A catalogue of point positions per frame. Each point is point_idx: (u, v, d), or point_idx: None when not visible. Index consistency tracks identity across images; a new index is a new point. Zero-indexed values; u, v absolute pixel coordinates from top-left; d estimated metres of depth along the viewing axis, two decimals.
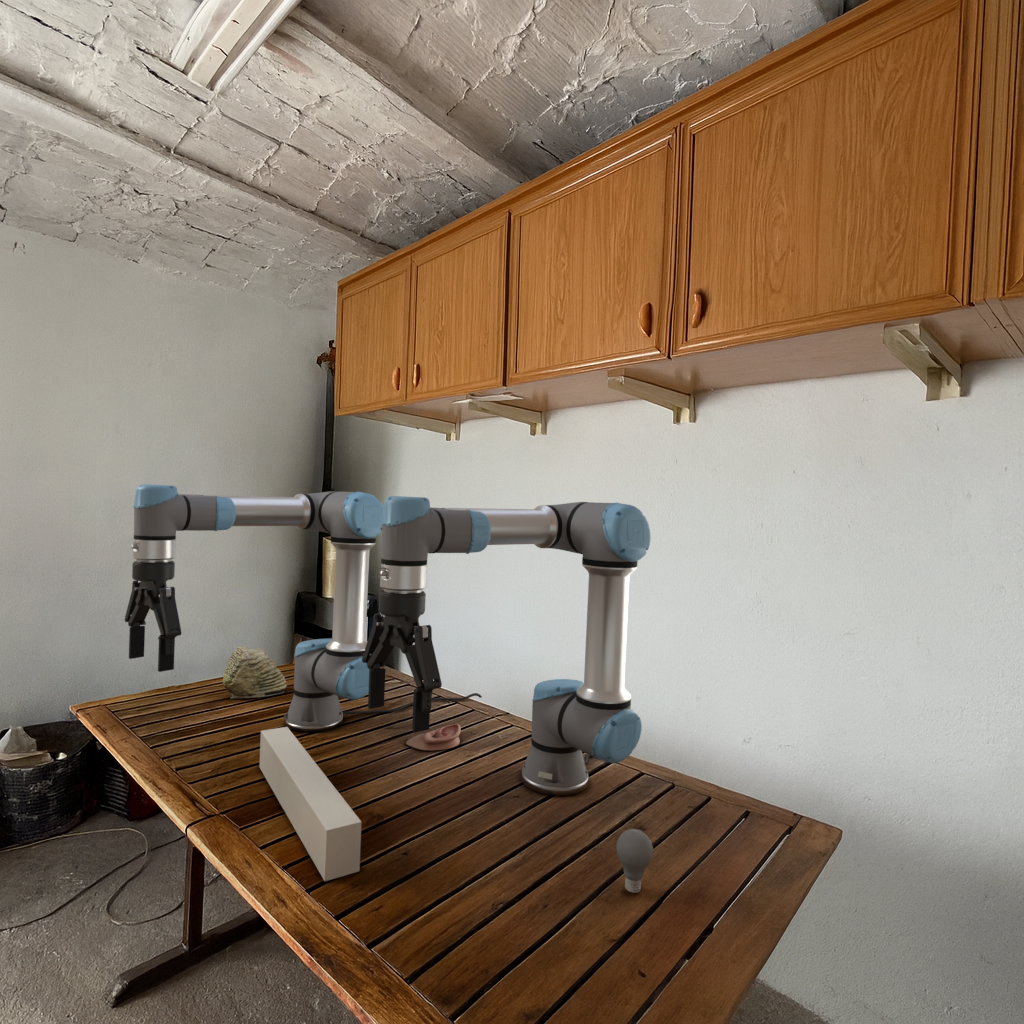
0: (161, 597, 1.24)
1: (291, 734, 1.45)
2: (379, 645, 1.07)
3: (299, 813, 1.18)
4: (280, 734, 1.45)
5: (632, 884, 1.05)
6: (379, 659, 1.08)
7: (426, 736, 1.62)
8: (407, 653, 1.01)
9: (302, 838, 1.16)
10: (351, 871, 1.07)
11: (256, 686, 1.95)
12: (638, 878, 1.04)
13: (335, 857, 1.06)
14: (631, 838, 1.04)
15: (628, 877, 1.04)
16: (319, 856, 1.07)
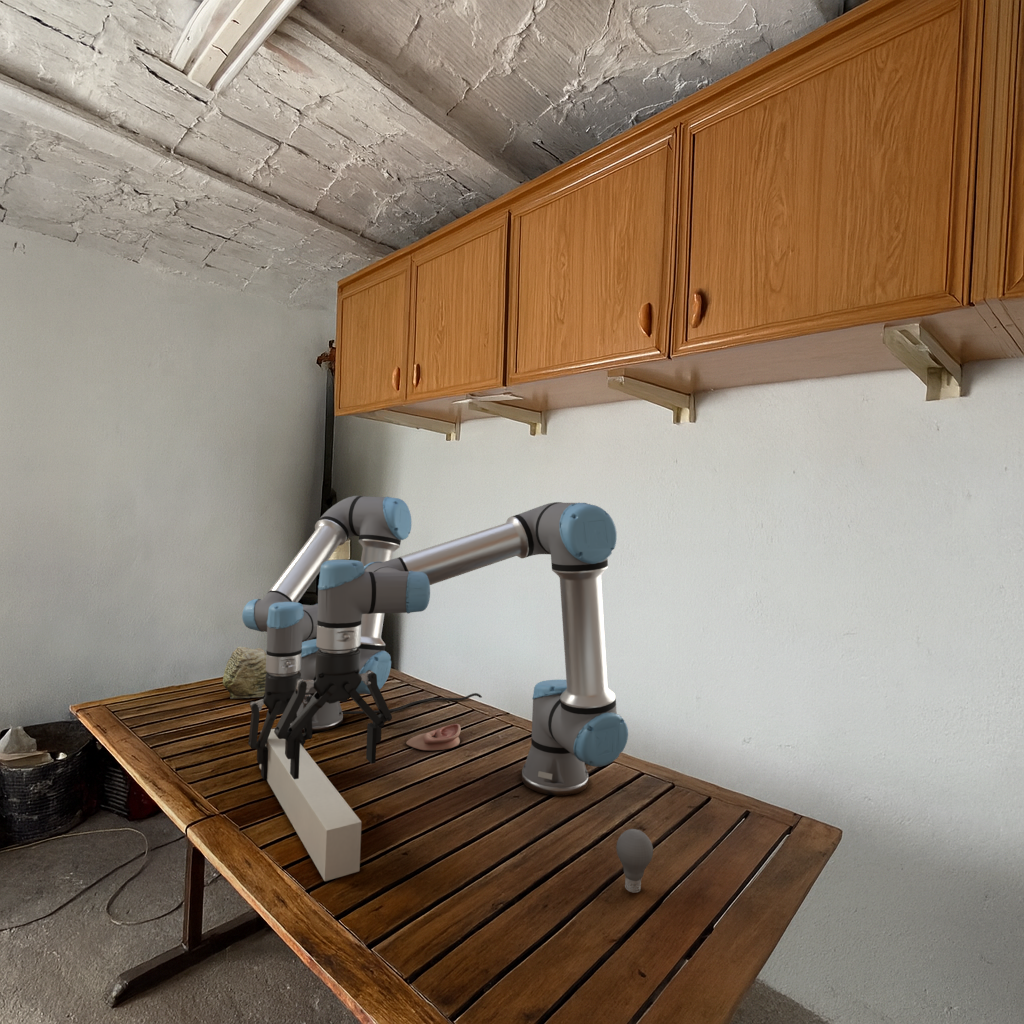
0: None
1: None
2: (312, 710, 1.08)
3: (299, 813, 1.18)
4: None
5: (632, 884, 1.05)
6: None
7: (426, 736, 1.62)
8: (360, 700, 1.12)
9: (302, 838, 1.16)
10: (351, 871, 1.07)
11: (256, 686, 1.95)
12: (638, 878, 1.04)
13: (335, 857, 1.06)
14: (631, 838, 1.04)
15: (628, 877, 1.04)
16: (319, 856, 1.07)
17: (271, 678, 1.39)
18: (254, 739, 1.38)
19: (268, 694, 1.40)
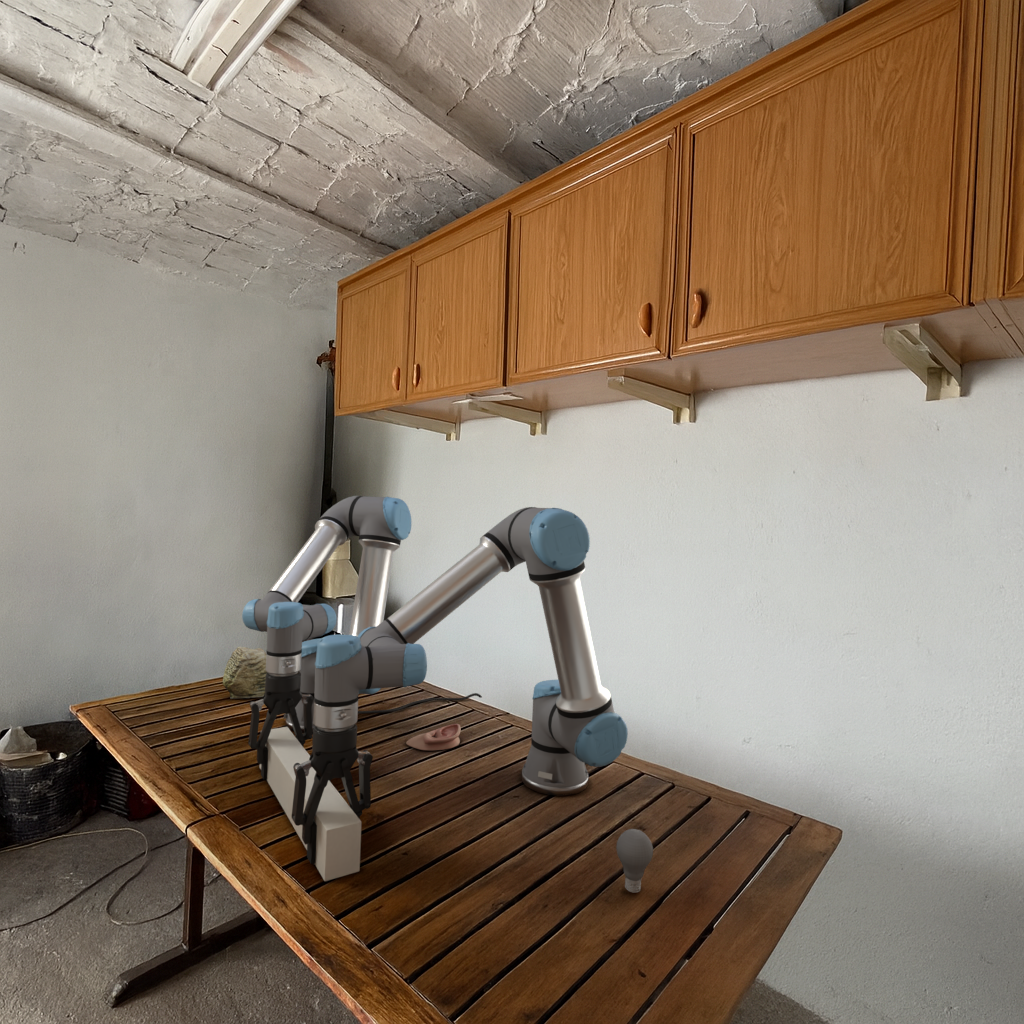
0: (309, 704, 1.45)
1: (291, 734, 1.45)
2: (318, 792, 1.09)
3: None
4: (280, 734, 1.45)
5: (632, 884, 1.05)
6: None
7: (426, 736, 1.62)
8: (349, 781, 1.12)
9: None
10: (351, 871, 1.07)
11: (256, 686, 1.95)
12: (638, 878, 1.04)
13: (335, 857, 1.06)
14: (631, 838, 1.04)
15: (628, 877, 1.04)
16: (319, 856, 1.07)
17: (271, 678, 1.39)
18: (254, 739, 1.38)
19: (268, 694, 1.40)
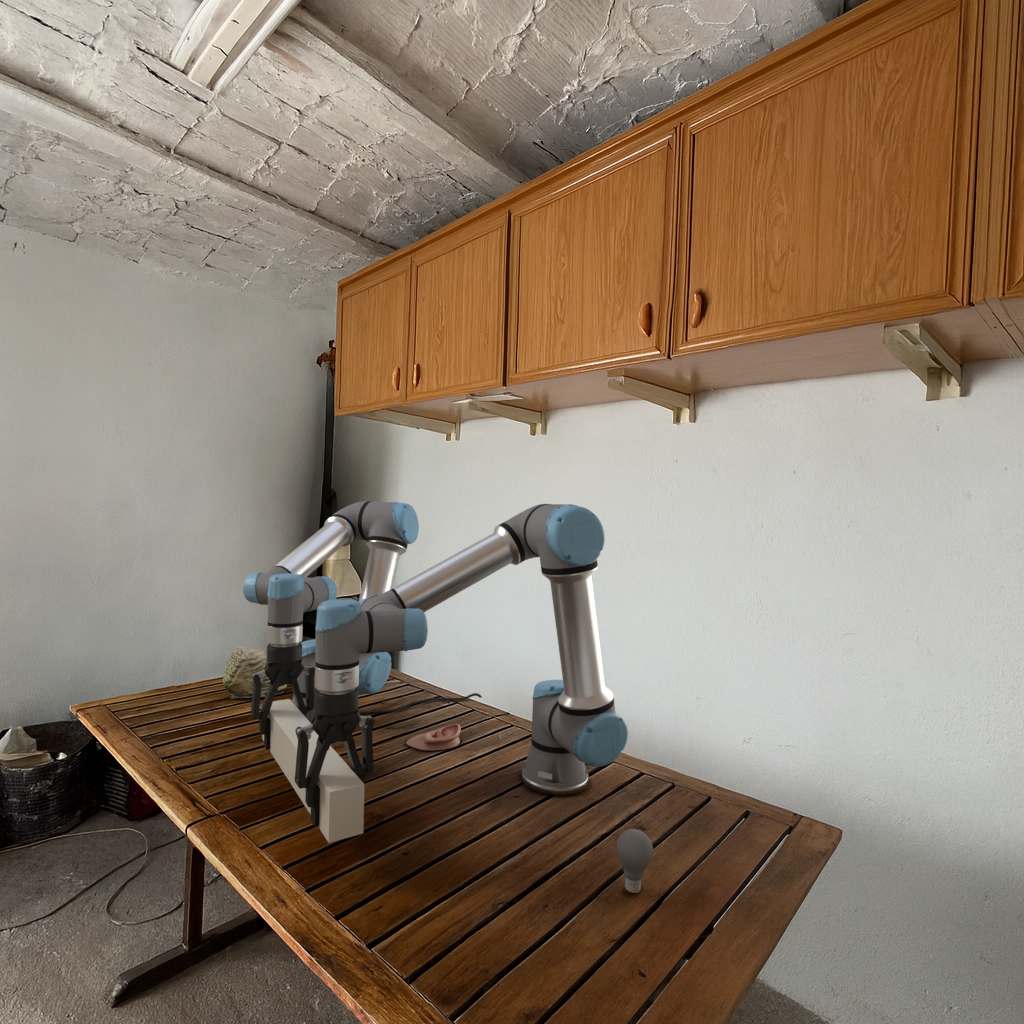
0: (311, 676, 1.45)
1: (293, 705, 1.45)
2: (321, 755, 1.09)
3: None
4: (282, 705, 1.45)
5: (632, 884, 1.05)
6: None
7: (426, 736, 1.62)
8: (351, 745, 1.12)
9: None
10: (355, 833, 1.07)
11: None
12: (638, 878, 1.04)
13: (339, 819, 1.06)
14: (631, 838, 1.04)
15: (628, 877, 1.04)
16: (323, 819, 1.07)
17: (272, 649, 1.39)
18: (256, 710, 1.38)
19: (270, 665, 1.40)
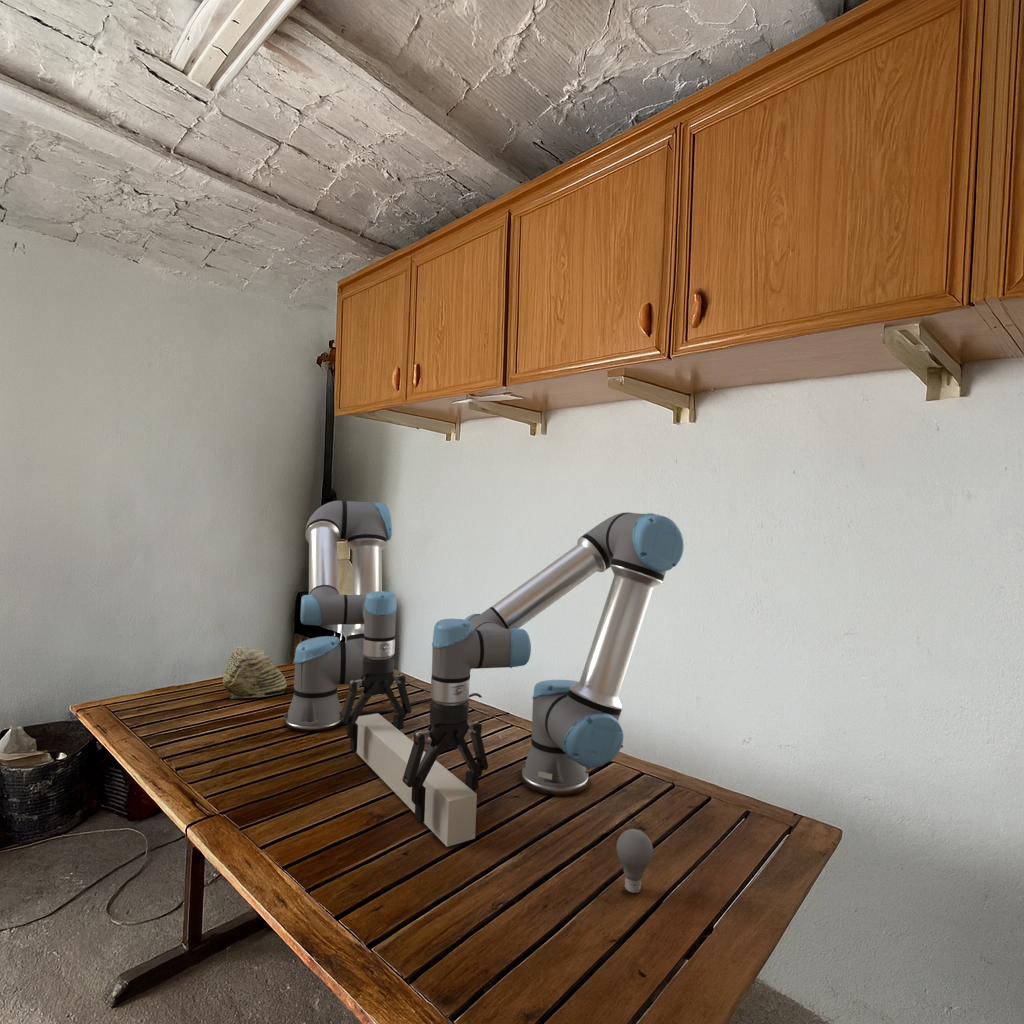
0: (402, 683, 1.57)
1: (384, 720, 1.57)
2: (432, 758, 1.20)
3: (411, 788, 1.30)
4: (375, 719, 1.57)
5: (632, 884, 1.05)
6: None
7: None
8: (465, 749, 1.24)
9: None
10: (468, 838, 1.19)
11: (256, 686, 1.95)
12: (638, 878, 1.04)
13: (456, 825, 1.17)
14: (631, 838, 1.04)
15: (628, 877, 1.04)
16: (440, 825, 1.19)
17: (369, 661, 1.51)
18: (347, 715, 1.49)
19: (366, 676, 1.52)
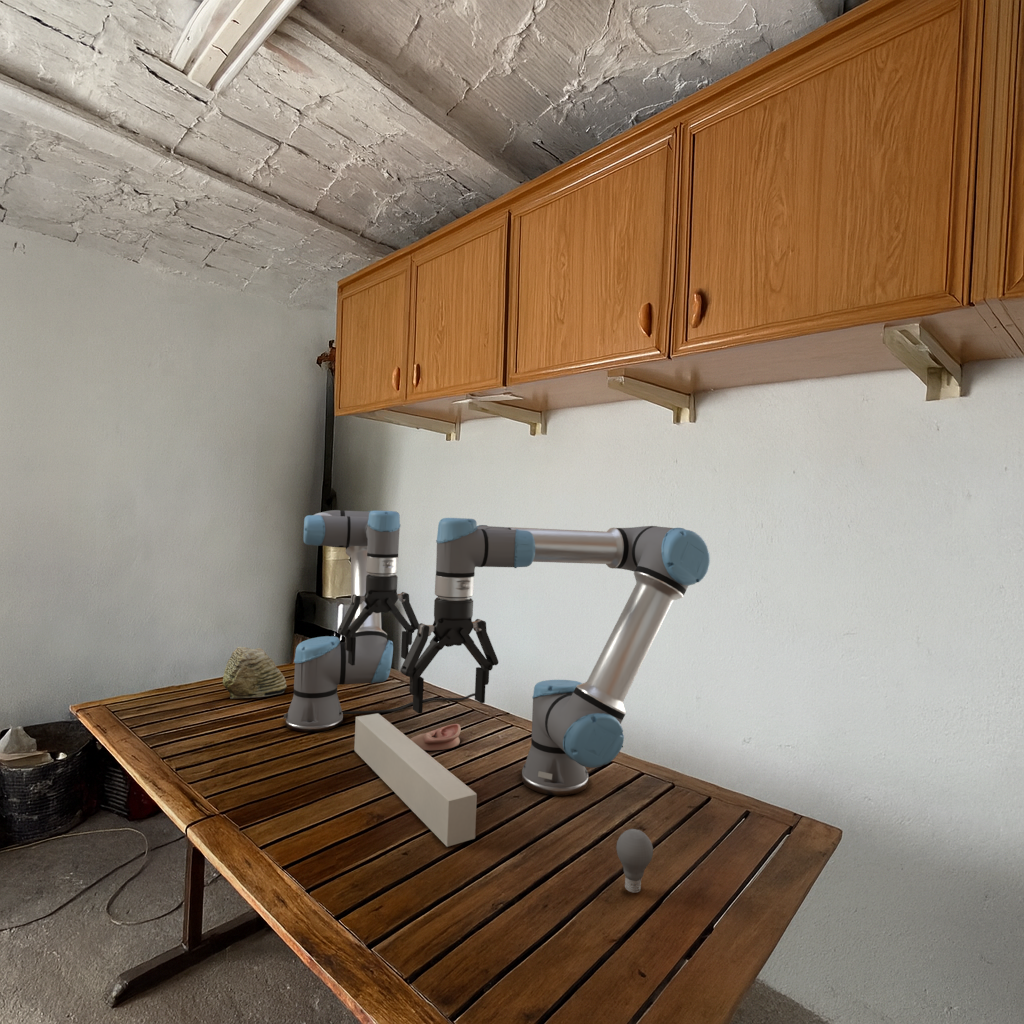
0: (407, 601, 1.56)
1: (384, 720, 1.57)
2: (433, 651, 1.19)
3: (411, 788, 1.30)
4: (375, 719, 1.57)
5: (632, 884, 1.05)
6: None
7: (426, 736, 1.62)
8: (472, 645, 1.24)
9: (416, 811, 1.28)
10: (468, 838, 1.19)
11: (256, 686, 1.95)
12: (638, 878, 1.04)
13: (456, 825, 1.17)
14: (631, 838, 1.04)
15: (628, 877, 1.04)
16: (440, 825, 1.19)
17: (373, 577, 1.50)
18: (346, 627, 1.48)
19: (369, 593, 1.51)
